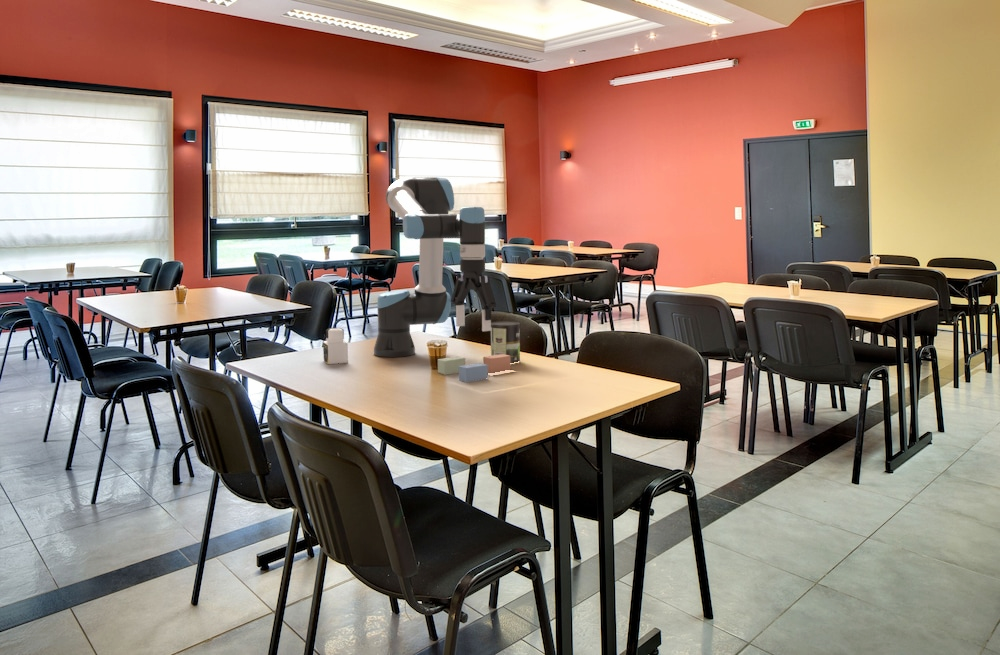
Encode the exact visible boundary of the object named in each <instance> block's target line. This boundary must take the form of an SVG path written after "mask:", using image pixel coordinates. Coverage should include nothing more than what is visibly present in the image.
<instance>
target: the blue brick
mask: <svg viewBox="0 0 1000 655" xmlns="http://www.w3.org/2000/svg"><path fill="white" fill-rule="evenodd" d="M488 377H489V376H488V365H485V364H483V363H481V362H477V363H472V364H465V365H464V366H459V373H458V380H459V381H461V382H464V383H471V382H470V381H472V382H476V381H475V380H478V381H482V380H481V379H484V380H487V379H486V378H488Z"/></svg>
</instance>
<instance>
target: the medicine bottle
mask: <svg viewBox="0 0 1000 655" xmlns="http://www.w3.org/2000/svg"><path fill="white" fill-rule="evenodd" d="M348 346H349V345H348V342H347V341H345V330H344V329H343V328H342V327H330V328H327V329H326V330H325V340H323V342H322V347H323V348H322V349H323V351H322V352H323V361H324V362H325V363H326V364H327V365H338V363H339V364H347V363H349V351H348V350H349V349H348V348H349V347H348Z"/></svg>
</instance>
